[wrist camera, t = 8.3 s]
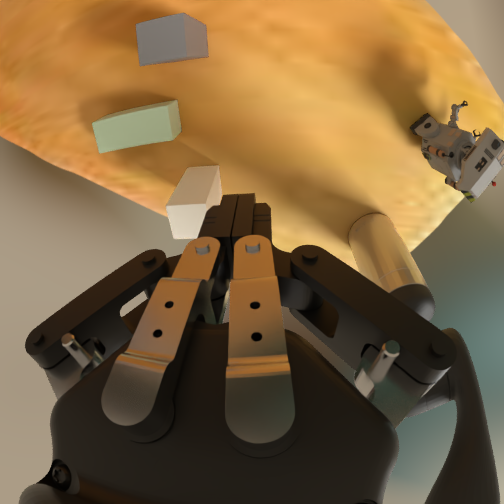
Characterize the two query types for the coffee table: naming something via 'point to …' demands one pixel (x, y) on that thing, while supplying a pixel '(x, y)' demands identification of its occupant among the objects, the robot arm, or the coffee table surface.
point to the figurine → (461, 153)
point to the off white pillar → (193, 200)
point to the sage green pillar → (138, 126)
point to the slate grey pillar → (171, 39)
